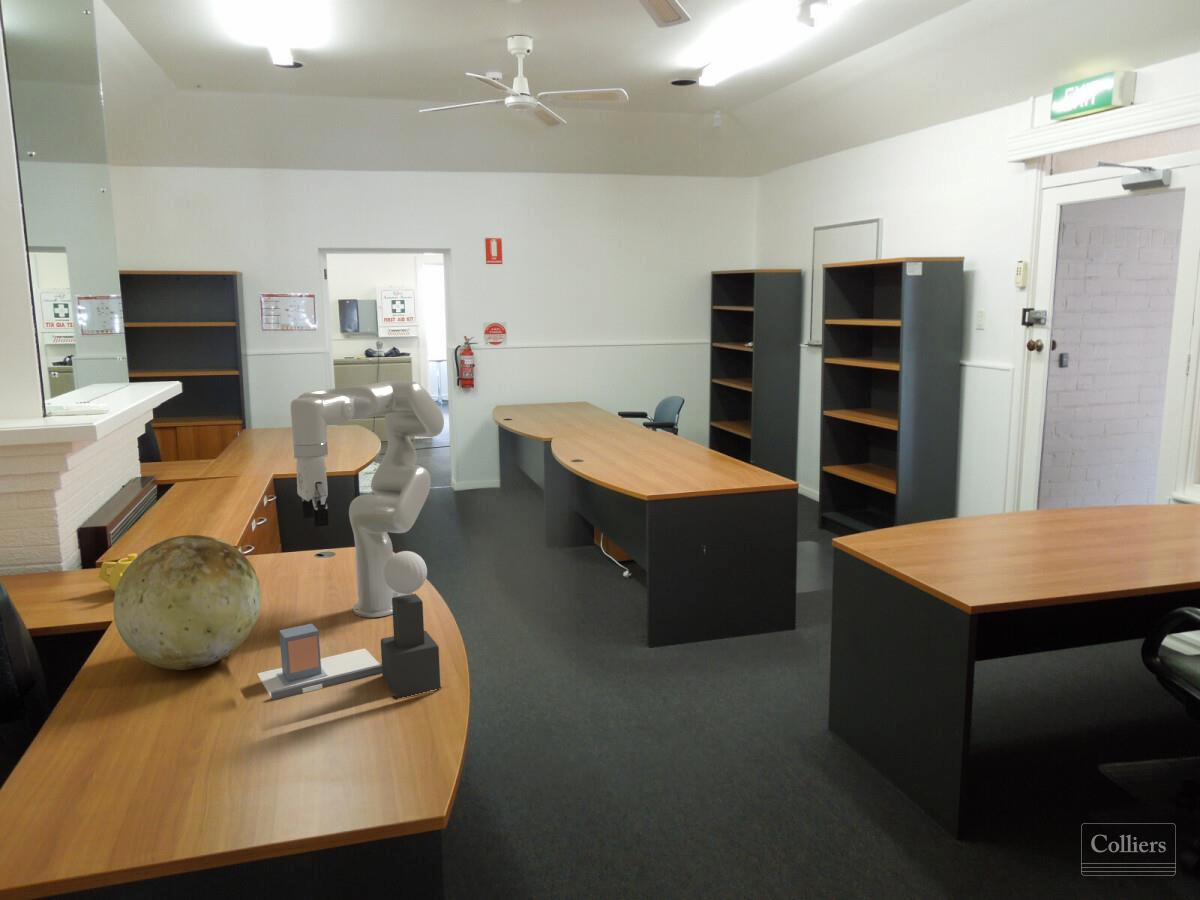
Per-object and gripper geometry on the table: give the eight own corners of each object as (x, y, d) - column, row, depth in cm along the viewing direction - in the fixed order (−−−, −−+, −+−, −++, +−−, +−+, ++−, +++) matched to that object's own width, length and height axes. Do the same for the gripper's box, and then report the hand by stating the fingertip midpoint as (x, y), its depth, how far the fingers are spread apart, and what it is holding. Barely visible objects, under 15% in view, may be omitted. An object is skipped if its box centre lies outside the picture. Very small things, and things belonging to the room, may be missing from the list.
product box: (282, 673, 183) (279, 630, 182) (315, 665, 187) (312, 623, 185) (288, 682, 179) (285, 638, 177) (321, 674, 183) (318, 631, 181)
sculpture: (393, 701, 174) (386, 562, 169) (382, 681, 183) (374, 549, 178) (441, 690, 179) (435, 554, 173) (427, 672, 187) (421, 542, 182)
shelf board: (365, 654, 197) (364, 642, 197) (387, 678, 185) (386, 665, 184) (257, 679, 184) (256, 667, 184) (273, 707, 172) (272, 693, 171)
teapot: (161, 600, 235) (156, 562, 233) (89, 606, 230) (84, 567, 228) (177, 577, 254) (174, 542, 252) (112, 583, 249) (108, 547, 247)
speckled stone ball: (275, 633, 210) (266, 516, 205) (253, 685, 182) (241, 552, 176) (145, 644, 204) (131, 524, 199) (100, 700, 175) (84, 562, 170)
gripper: (285, 447, 202) (290, 516, 205) (303, 457, 187) (309, 532, 190) (317, 444, 206) (321, 511, 209) (337, 454, 191) (342, 527, 194)
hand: (315, 521), depth 199 cm, fingers open, 9 cm apart
